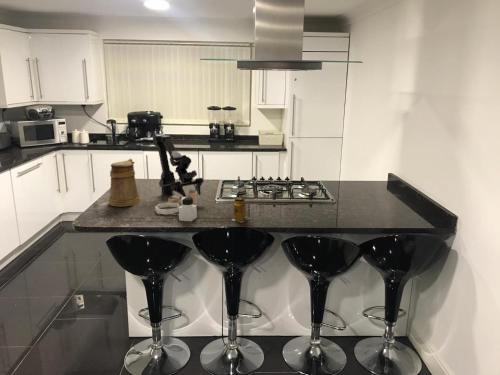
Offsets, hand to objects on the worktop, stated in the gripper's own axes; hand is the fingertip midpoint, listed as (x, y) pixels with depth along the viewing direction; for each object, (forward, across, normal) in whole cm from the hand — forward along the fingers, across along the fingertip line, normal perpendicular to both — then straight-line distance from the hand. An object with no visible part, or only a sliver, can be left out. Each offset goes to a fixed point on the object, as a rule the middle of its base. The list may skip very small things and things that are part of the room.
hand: (193, 196), depth 245 cm
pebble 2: (-6, -2, +15) cm, 17 cm away
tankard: (-21, -26, +31) cm, 46 cm away
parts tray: (-6, -1, +17) cm, 18 cm away
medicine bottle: (+15, -11, -4) cm, 20 cm away
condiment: (+28, +11, -17) cm, 35 cm away
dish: (+2, -14, +8) cm, 16 cm away
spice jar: (+5, 0, +6) cm, 8 cm away
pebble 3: (-6, +2, +15) cm, 17 cm away
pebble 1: (-8, -3, +18) cm, 20 cm away
